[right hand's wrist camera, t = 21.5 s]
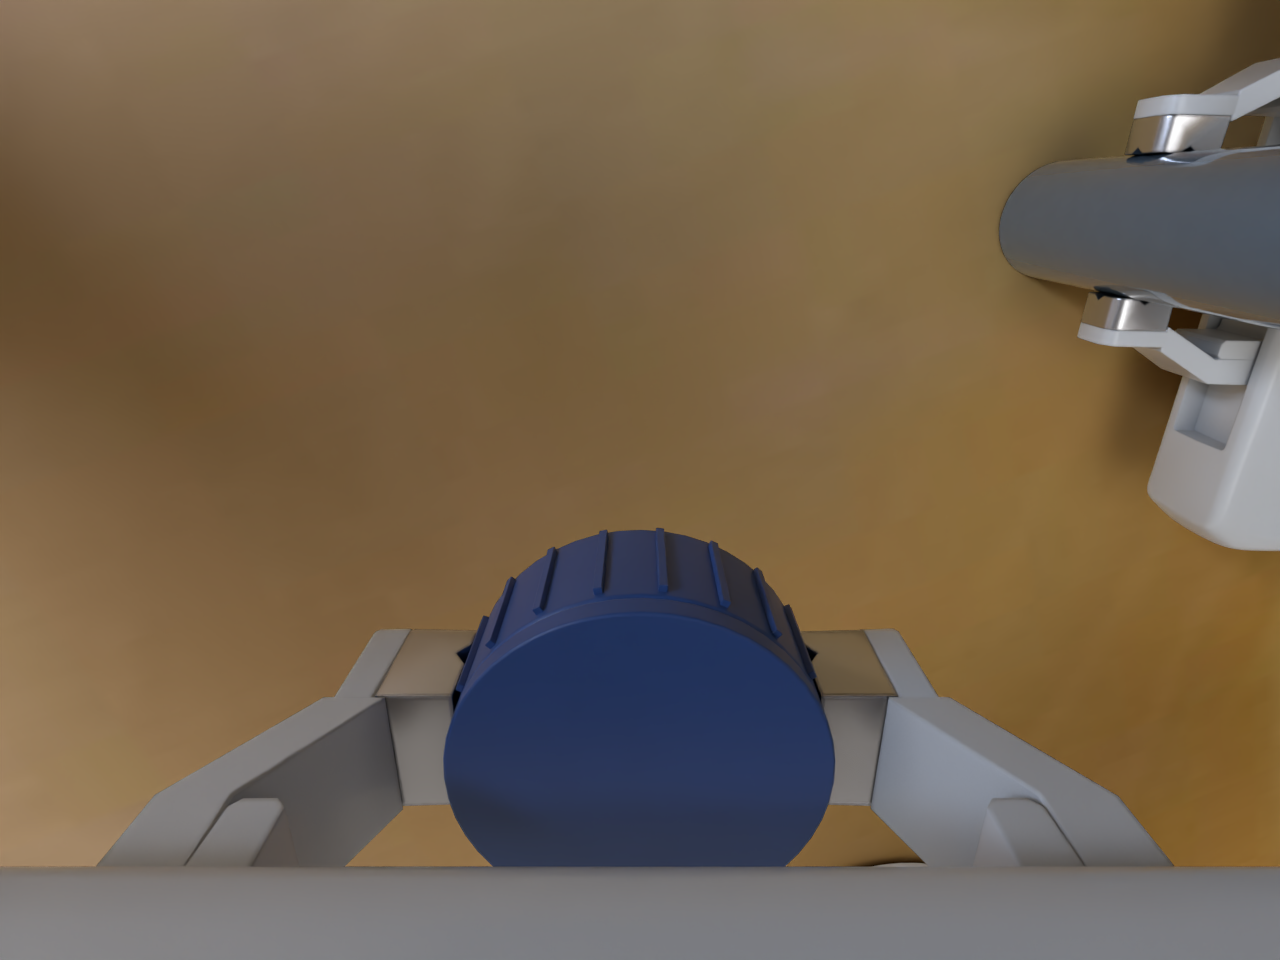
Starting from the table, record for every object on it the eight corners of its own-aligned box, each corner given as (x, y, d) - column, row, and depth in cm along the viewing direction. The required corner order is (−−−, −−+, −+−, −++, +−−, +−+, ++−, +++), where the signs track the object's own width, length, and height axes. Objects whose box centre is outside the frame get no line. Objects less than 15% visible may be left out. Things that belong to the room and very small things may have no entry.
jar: (1023, 150, 25) (1557, 90, 11) (1129, 172, 25) (1792, 146, 11) (981, 267, 26) (1398, 356, 12) (1082, 287, 27) (1607, 398, 12)
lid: (741, 821, 12) (763, 949, 10) (450, 760, 11) (408, 881, 9) (852, 571, 10) (906, 665, 8) (512, 486, 9) (478, 562, 7)
